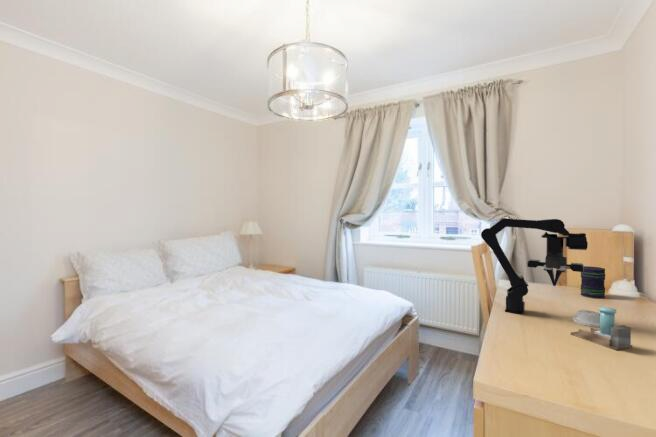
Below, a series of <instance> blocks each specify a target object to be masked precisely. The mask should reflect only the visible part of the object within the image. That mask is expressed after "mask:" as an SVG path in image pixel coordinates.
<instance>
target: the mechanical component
mask: <svg viewBox="0 0 656 437" xmlns="http://www.w3.org/2000/svg"><path fill="white" fill-rule="evenodd" d="M572 320H573V321H574V322H575V323H576V324H579V325H583V326H587V327H594V328H600V312H596V311H594V310H587V309H580V310H579V309H578V310H577V311H576V315H574V316H573V317H572Z"/></svg>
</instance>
